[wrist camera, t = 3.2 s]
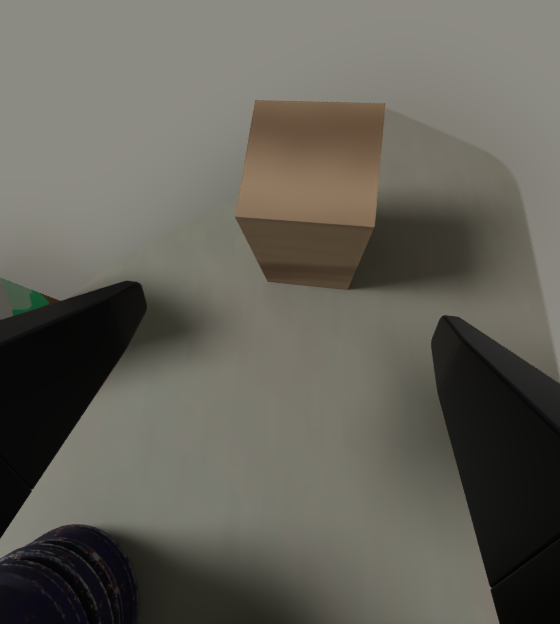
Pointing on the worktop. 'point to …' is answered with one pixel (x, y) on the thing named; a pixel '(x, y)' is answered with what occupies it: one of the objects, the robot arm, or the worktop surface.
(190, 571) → the worktop surface
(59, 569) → the storage jar
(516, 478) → the robot arm
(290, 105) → the tan rectangular block
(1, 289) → the food container
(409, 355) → the worktop surface
